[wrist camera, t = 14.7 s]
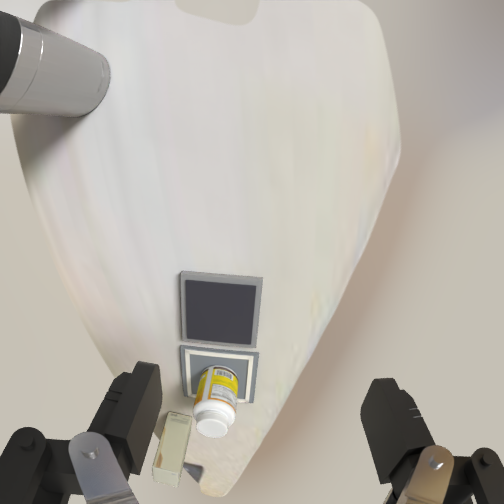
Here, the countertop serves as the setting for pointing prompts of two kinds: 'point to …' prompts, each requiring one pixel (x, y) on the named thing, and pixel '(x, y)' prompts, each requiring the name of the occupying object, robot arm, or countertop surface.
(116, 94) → the countertop surface
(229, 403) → the supplement bottle
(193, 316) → the ink pad
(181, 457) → the skincare box
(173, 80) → the countertop surface
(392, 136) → the countertop surface
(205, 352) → the grey square pad
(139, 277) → the countertop surface
